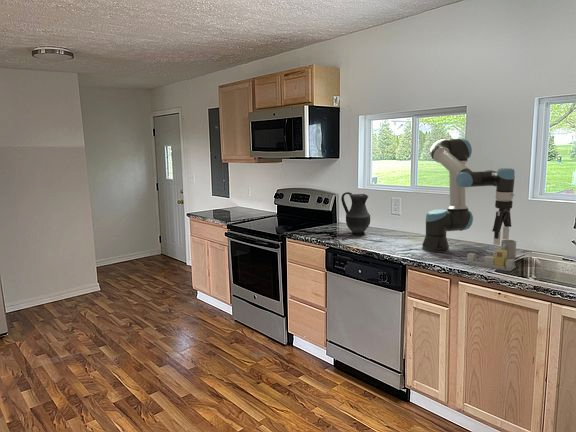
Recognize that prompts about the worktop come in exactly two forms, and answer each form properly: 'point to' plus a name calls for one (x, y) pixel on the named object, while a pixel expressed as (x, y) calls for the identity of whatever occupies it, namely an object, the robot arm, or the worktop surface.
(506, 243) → the cup
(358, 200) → the pitcher
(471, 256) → the rail
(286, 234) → the worktop surface
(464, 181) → the robot arm
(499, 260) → the block
